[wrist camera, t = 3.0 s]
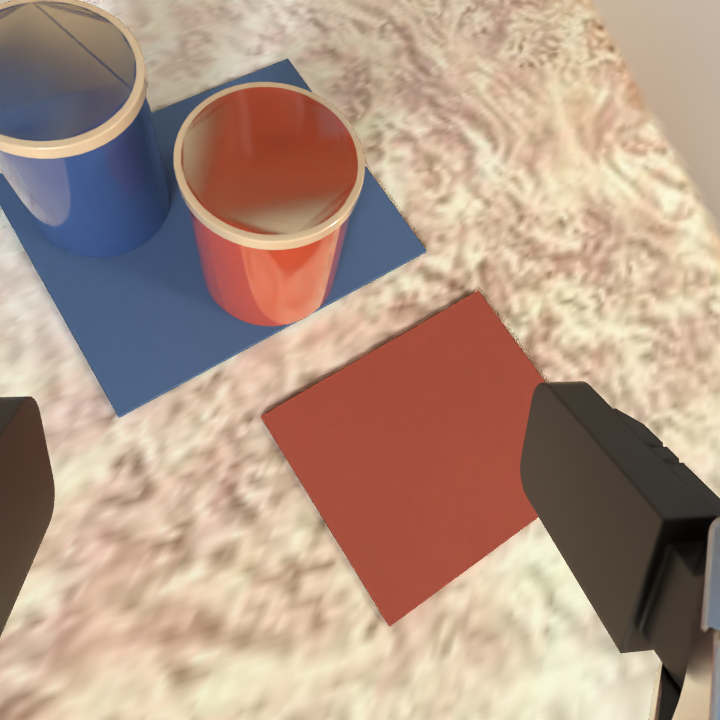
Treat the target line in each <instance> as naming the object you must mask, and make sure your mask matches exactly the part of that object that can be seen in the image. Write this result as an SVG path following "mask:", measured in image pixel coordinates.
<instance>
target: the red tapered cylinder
mask: <svg viewBox="0 0 720 720" xmlns="http://www.w3.org/2000/svg"><path fill="white" fill-rule="evenodd" d="M173 163H174V171H175V176H176V180H177V185H178V188H179V190H180V193H181V196H182V197H183V199H184V201H185V203H186V205H187V206H188V208H189V213H190V218H191V222H192V227H193V232H194V237H195V241H196V246H197V251H198V256H199V260H200V265H201V270H202V275H203V279H204V282H205V285H206V288H207V289H208V291H209V293H210V295H211V296H212V298H213V299H214V300H215V302H216V303H217V304H218V305H219V306H220V307H221V308H222V309H224V310H225V311H226V312H227V313H229V314H230V315H232V316H234V317H235V318H237V319H240V320H242V321H244V322H247V323H250V324H254V325H260V326H282V325H287V324H291V323H294V322H297V321H299V320H302V319H304V318H306V317H307V316H309V315H311V314H312V313H313V312H315V311H316V310H317V309H318V308H319V307H320V306H321V305H322V304H323V303H324V302H325V300H326V299H327V297H328V296H329V294H330V292H331V290H332V288H333V285H334V282H335V278H336V274H337V270H338V265H339V261H340V257H341V252H342V248H343V244H344V239H345V235H346V230H347V226H348V222H349V217H350V214H351V212H352V211H353V210H354V208H355V206H356V204H357V202H358V199H359V196H360V193H361V190H362V186H363V181H364V175H365V160H364V153H363V149H362V146H361V143H360V140H359V138H358V136H357V134H356V132H355V130H354V129H353V127H352V125H351V124H350V122H349V121H348V120H347V119H346V118H345V116H344V115H343V114H342V113H341V112H340V111H339V110H338V109H337V108H335V107H334V106H333V105H332V104H330V103H329V102H328V101H326V100H325V99H323V98H321V97H320V96H318V95H316V94H314V93H312V92H310V91H307V90H305V89H302V88H299V87H296V86H293V85H288V84H283V83H275V82H253V83H245V84H240V85H235V86H232V87H229V88H226V89H224V90H221V91H219V92H217V93H215V94H213V95H212V96H210V97H208V98H207V99H205V100H204V101H203V102H201V103H200V104H199V105H198V106H197V107H196V108H195V109H194V110H193V111H192V112H191V113H190V114H189V115H188V117H187V118H186V120H185V121H184V123H183V124H182V126H181V128H180V130H179V133H178V135H177V138H176V142H175V145H174V153H173Z"/></svg>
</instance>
